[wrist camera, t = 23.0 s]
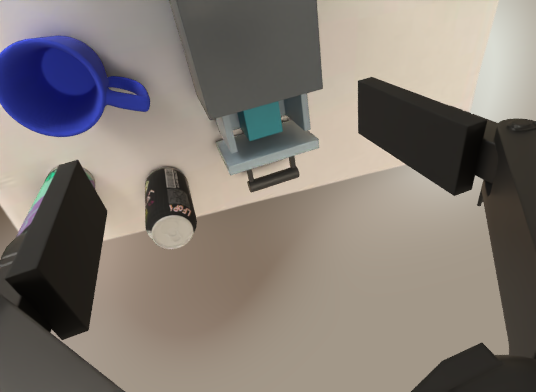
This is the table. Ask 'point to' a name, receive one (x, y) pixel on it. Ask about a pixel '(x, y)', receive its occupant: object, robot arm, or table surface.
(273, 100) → the grey drawer cabinet
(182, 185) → the beverage can
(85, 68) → the mug
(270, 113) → the cube
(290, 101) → the drawer
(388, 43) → the table surface
